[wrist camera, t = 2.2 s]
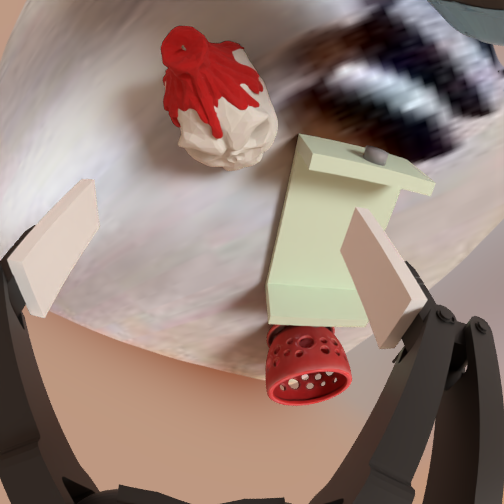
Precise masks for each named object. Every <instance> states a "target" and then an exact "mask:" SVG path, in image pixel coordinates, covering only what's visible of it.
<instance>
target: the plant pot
mask: <svg viewBox="0 0 504 504" xmlns="http://www.w3.org/2000/svg"><path fill="white" fill-rule="evenodd" d="M334 333H335V329H334V327H324V326H320V327H312V326H297V325H277V324H274V325H273V326H272V327H271V329H270V330H269V332H268V334H267V344H268V347H269V348H270V349H269V351H268V355H267V360H266V389H267V394H268V396H269V398H270V399H271V400H273V401H275V402H277V403H279V404H283V405H293V406H294V405H295V406H298V405H309V404H314V403H318V402H322V401H325V400H328V399H330V398H332V397H335V396H336V395H339V394H340V393H342V392H343V391H344V390H346V389H347V388H348V387H349V385H350V384H351V381H352V375H351V370H350V366H349V363H348V360H347V357H346V354H345V351H344V349H343V347H342V345H341V343H340V342H339V340H338V339H337V338H336V336H335V335H334ZM326 371H327V372H328V371H329V372H334V373H333V374H332V375H330V376H328V375H327V374H326ZM304 374H308V376H309V378H308V379H307V380H302V378H301V377H302V375H304ZM316 374H321V379H319V380H316V379H315V375H316ZM335 378H337V381H336V382H334V379H335ZM290 379H295V380H297V381H298V383H299V387H298V388H297V389H293V388H291V387H290V386H289V385H288V381H289V380H290ZM324 381H325V385H324V386H321V383H322V382H324ZM308 383H313V385H314V387H313V388H312V389H307V387H306V386H307V384H308ZM280 385H282V386H283V387H284V391H283V390H281V389H280Z"/></svg>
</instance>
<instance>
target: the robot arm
mask: <svg viewBox="0 0 504 504" xmlns="http://www.w3.org/2000/svg"><path fill="white" fill-rule="evenodd" d="M427 1H428V2H429V3H430V4H431V5H432V6H433V7H434V8H435V9H436V10H437V11H438V12H439V13H440V14H441V16H442V17H443V18H444V19H445V20H446V21H447V22H448V23H449V24H450V25H451V26H452V27H453V28H455V29H456V30H457V31H459V32H460V33H462V34H464V35H466V36H469V37H471V38H476V39H478V40H479V41H482V42H485V43H490V44H494V45H501V46H504V0H427ZM99 227H100V224H99V217H98V209H97V200H96V191H95V181H94V180H92V179H81V180H80V181H79V182H78V183H77V184H76V185H75V186H74V187H73V188H72V189H71V190H70V191H69V192H68V193H67V194H66V195H65V196H64V197H63V198H62V199H61V200H60V201H59V202H58V203H57V204H56V205H55V206H54V207H53V208H52V209H51V210H50V211H49V212H48V213H47V214H46V215H45V216H44V217H43V218H42V219H41V220H40V221H39V222H38V224H37V225H34V226H32V227H31V228H29V229H28V230H26V231H25V232H24V233H23V235H22V236H21V237H20V238H19V240H17V241H16V243H15V244H14V246H12V247H11V248H10V250H9V251H8V252H7V253H6V255H5V256H4V257H3V258H2V260H1V261H0V479H1V481H2V484H3V486H4V489H5V491H6V493H7V495H8V498H9V500H10V502H11V504H190V503H187V502H184V501H181V500H178V499H175V498H172V497H169V496H167V495H164V494H161V493H159V492H154V491H148V490H143V489H138V488H133V487H128V486H123V485H119V488H118V489H114V490H106V491H102V492H99V490H98V488H97V487H96V485H95V484H94V483H93V481H92V479H91V478H90V477H89V475H88V474H87V473H86V472H85V471H84V470H83V468H82V467H81V466H80V464H79V462H78V461H77V459H76V457H75V455H74V453H73V451H72V449H71V448H70V445H69V443H68V441H67V439H66V437H65V435H64V433H63V431H62V429H61V426H60V424H59V422H58V420H57V417H56V415H55V412H54V410H53V408H52V405H51V403H50V400H49V397H48V395H47V392H46V389H45V387H44V384H43V381H42V378H41V375H40V372H39V369H38V366H37V363H36V359H35V356H34V353H33V349H32V345H31V342H30V338H29V334H28V330H27V326H26V322H25V317H24V315H23V313H22V309H23V308H24V306H25V304H26V306H27V308H28V311H29V313H30V314H31V315H34V316H37V317H42V318H45V317H46V315H47V313H48V311H49V309H50V307H51V306H52V304H53V302H54V300H55V298H56V296H57V295H58V293H59V291H60V289H61V288H62V286H63V284H64V282H65V281H66V279H67V277H68V276H69V274H70V272H71V271H72V269H73V267H74V266H75V264H76V262H77V261H78V259H79V258H80V256H81V254H82V253H83V251H84V250H85V248H86V247H87V245H88V244H89V242H90V241H91V239H92V238H93V236H94V235H95V233H96V232H97V230H98V229H99ZM340 252H341V254H342V256H343V259H344V261H345V263H346V266H347V268H348V270H349V273H350V275H351V277H352V280H353V282H354V285H355V287H356V289H357V292H358V294H359V297H360V299H361V302H362V304H363V307H364V309H365V312H366V315H367V317H368V320H369V322H370V325H371V328H372V330H373V333H374V336H375V338H376V341H377V344H378V347H379V349H386V348H387V349H388V348H395V347H396V345H397V344H398V342H399V341H400V340H401V339H402V340H403V343H404V345H405V346H404V347H403V348H402V350H401V351H400V352H399V354H398V355H397V356H396V358H395V359H394V360H393V361H392V362H393V363H395V362H396V363H395V365H394V367H393V370H392V372H391V374H390V376H389V378H388V380H387V383H386V385H385V387H384V389H383V391H382V393H381V395H380V397H379V399H378V401H377V403H376V405H375V407H374V409H373V411H372V413H371V415H370V416H369V418H368V420H367V422H366V424H365V425H364V427H363V429H362V431H361V432H360V434H359V436H358V438H357V439H356V441H355V443H354V444H353V446H352V448H351V450H350V451H349V453H348V454H347V456H346V457H345V459H344V461H343V462H342V464H341V465H340V467H339V468H338V470H337V471H336V473H335V474H334V476H333V477H332V478H331V480H330V481H329V483H328V484H327V485H326V486H325V487H324V488H323V489H322V490H321V491H320V492H319V493H318V494H317V495H316V496H315V497H314V498H313V499H312V500H311V501H310V503H309V504H412V502H413V499H414V496H415V490H414V489H413V488H412V487H411V481H412V478H413V476H414V474H415V472H416V469H417V467H418V465H419V462H420V460H421V457H422V455H423V452H424V450H425V447H426V444H427V442H428V439H429V436H430V433H431V430H432V427H433V424H434V421H435V431H434V440H433V448H432V455H431V462H430V469H429V474H428V480H427V485H426V490H425V495H424V499H423V503H422V504H502V497H503V488H504V406H503V395H502V386H501V379H500V372H499V366H498V360H497V354H496V349H495V344H494V339H493V335H492V331H491V328H490V327H489V325H488V323H487V322H486V321H485V320H483V319H482V318H480V317H477V316H474V317H472V318H471V319H470V321H469V322H468V323H467V324H464V323H461V322H458V321H457V320H456V318H455V316H454V314H453V313H452V312H451V311H450V310H449V309H447V308H446V307H444V306H442V305H436V303H435V301H434V299H433V298H432V296H431V294H430V293H429V291H428V289H427V288H426V286H425V285H424V283H423V281H422V280H421V278H420V276H419V275H418V273H417V272H416V270H415V269H414V268H413V267H412V266H411V265H410V264H409V263H408V262H407V261H404V260H403V259H402V257H401V256H400V254H399V253H398V251H397V249H396V248H395V246H394V245H393V243H392V242H391V240H390V239H389V238H388V236H387V235H386V233H385V232H384V230H383V229H382V227H381V226H380V224H379V223H378V222H377V220H376V219H375V217H374V216H373V215H372V213H371V212H370V210H369V209H366V208H360V207H355V209H354V212H353V215H352V218H351V221H350V224H349V227H348V230H347V233H346V235H345V238H344V241H343V244H342V247H341V249H340ZM466 365H468V366H467V370H466V372H465V367H466ZM435 418H436V419H435ZM222 504H291V503H286V502H285V499H284V498H267V499H242V500H237V501H232V502H227V503H222Z"/></svg>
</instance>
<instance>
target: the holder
mask: <svg viewBox="0 0 504 504" xmlns="http://www.w3.org/2000/svg"><path fill="white" fill-rule="evenodd" d="M434 186H435V182H434V181H433V180H431V179H430V178H429V177H428V176H427V175H425V174H424V173H423V172H422V171H420V170H419V169H418V168H417V167H415V166H414V165H413V164H411V163H410V162H409V161H408V160H406V159H404V158H400V157H397V156H394V155H390V154H388V153H387V152H385V151H384V150H381V149H379V148H376V147H373V146H366V148H364V147H360V146H355V145H351V144H347V143H343V142H338V141H333V140H329V139H324V138H319V137H314V136H309V135H303V134H299V135H298V140H297V145H296V149H295V154H294V159H293V164H292V168H291V173H290V178H289V182H288V187H287V191H286V196H285V200H284V205H283V210H282V214H281V218H280V223H279V227H278V232H277V236H276V241H275V245H274V249H273V254H272V258H271V262H270V267H269V271H268V275H267V280H266V284H265V292H266V303H267V314H268V324H277V325H297V326H312V327H320V326H324V327H366V325H367V323H368V322H369V320H368V317H367V315H366V312H365V309H364V307H363V304H362V302H361V299H360V297H359V294H358V292H357V289H356V287H355V285H354V282H353V280H352V277H351V275H350V273H349V270H348V268H347V266H346V263H345V261H344V259H343V256H342V254H341V252H340V249H341V247H342V244H343V241H344V238H345V235H346V233H347V230H348V227H349V224H350V221H351V218H352V215H353V212H354V209H355V207H360V208H366V209H369V210H370V212H371V213H372V215H373V216H374V217H375V219H376V220H377V222H378V223H379V224H380V226H381V227H382V229H383V230H384V231H385V229H386V226H387V224H388V222H389V219H390V217H391V214H392V211H393V209H394V206H395V204H396V201H397V198H398V196H399V193H400V190H401V189H404V190H408V191H412V192H416V193H420V194H424V195H428V196H431V194H432V191H433V189H434Z"/></svg>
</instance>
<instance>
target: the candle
mask: <svg viewBox="0 0 504 504" xmlns="http://www.w3.org/2000/svg"><path fill="white" fill-rule="evenodd" d="M243 49H244V47H241V46H240V44H238V43H235V42H231V41H224V42H222V43H210V42H208V40H207V39H206V38H205V36H204V35H203V34H201V33H200V32H199V31H198V30H196V29H195V28H194V27H190V26H177V27H175V28H174V29H172V30H171V31H170V32H169V34H168V35H167V37H166V38H165V39H164V41H163V42H162V45H161V54H162V61H163V64H164V65H165V66H166V67H168V69H167V70H166V71H165V72H166V74H165V76H164V77H163V83H164V86H165V95H164V99H163V104H164V109H165V110H166V111H169V116H170V117H171V120H172V122H173V124H174V125H175V126H177V127H180V130H181V136H180V139H179V141H178V146H180V147H182V148H185V150H186V151H187V153H188V154H189V155H190V156H191V157H192V158H194V159H195V160H196V161H198V162H200V163H203V164H205V165H207V166H211V167H223V168H224V169H225V170H227V171H234V170H239V169H242V168H243V167H249V166H252V165H255V164H256V163H258V162H260V160H261V159H262V156H263V152H265V151H267V150H268V149H269V148H270V147H271V145H272V143H273V141H274V139H275V137H276V135H277V128H278V121H277V117H276V114H275V111H274V108H273V106H272V103H271V101H270V98H269V95H268V92H267V89H266V86H265V84H264V81H263V79H262V78H261V77H260V76H259V74H258V73H257V71H256V69H255V68H254V66H253V65H252V63H251V62H250V60H249V59H248V57H247V55H246V53H245V52H244V50H243Z"/></svg>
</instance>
